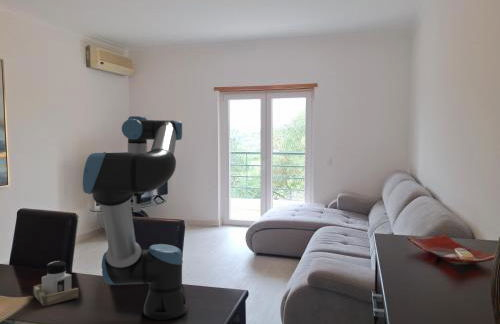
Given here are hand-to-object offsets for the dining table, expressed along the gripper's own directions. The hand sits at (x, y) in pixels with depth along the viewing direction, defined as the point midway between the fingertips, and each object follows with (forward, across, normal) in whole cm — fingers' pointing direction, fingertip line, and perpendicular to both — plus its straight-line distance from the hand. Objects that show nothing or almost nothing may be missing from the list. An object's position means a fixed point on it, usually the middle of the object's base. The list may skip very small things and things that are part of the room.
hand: (137, 211), depth 151 cm
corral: (+32, +14, +26) cm, 44 cm away
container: (+33, +15, +26) cm, 45 cm away
